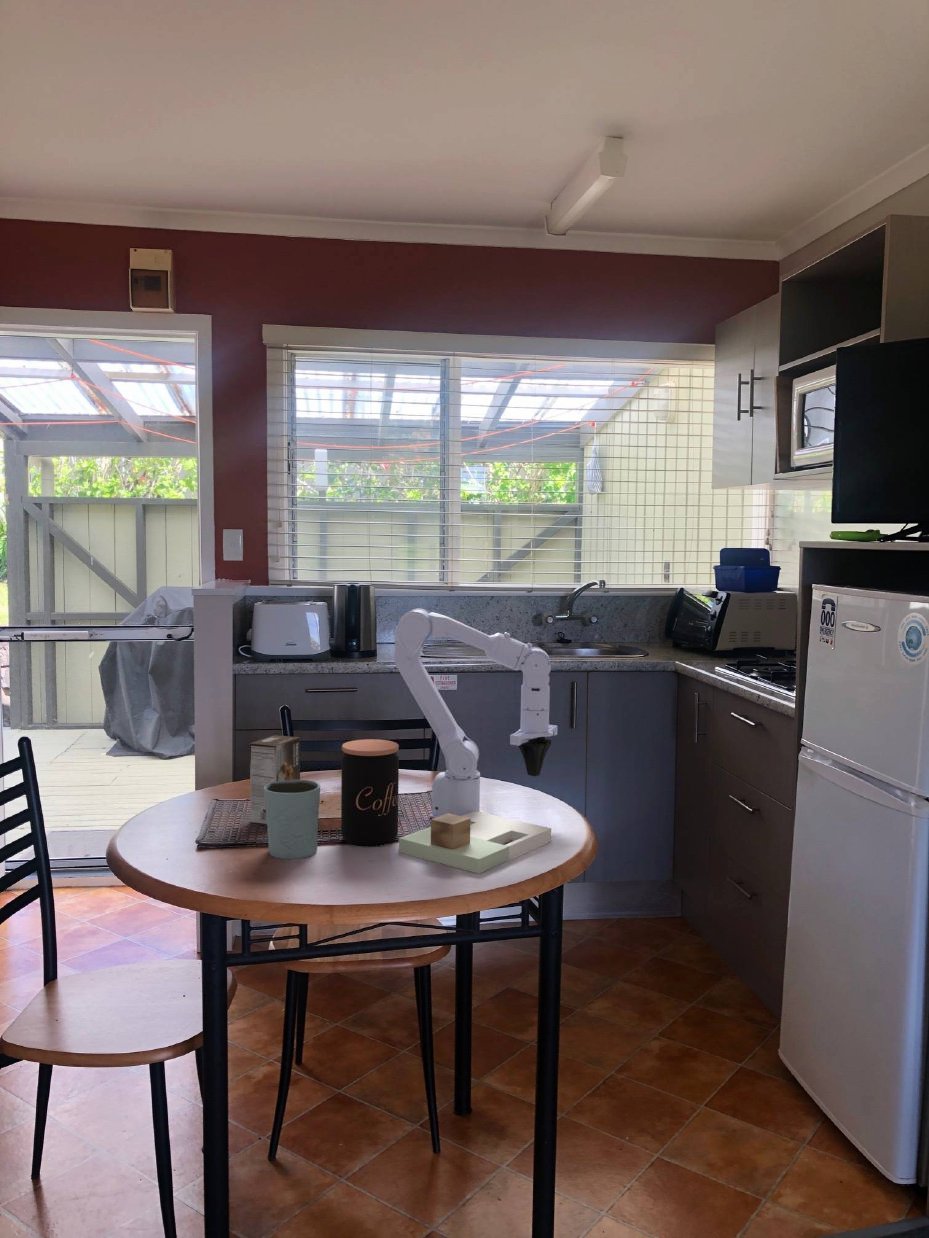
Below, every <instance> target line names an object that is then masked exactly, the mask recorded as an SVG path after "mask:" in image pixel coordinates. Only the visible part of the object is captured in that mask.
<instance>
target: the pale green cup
mask: <svg viewBox="0 0 929 1238" xmlns="http://www.w3.org/2000/svg"><path fill="white" fill-rule="evenodd" d="M263 789H264V799H265V805H266V820H267V824H266V826H267V840H268V843H267V844H268V851H269V852H268V853H269V854H270V856H271V857H273V858H276V859H277V858H278V859H285V860H286V859H287V860H298V859H304V858H308V857H311V856H313V855H315V854H316V852H317V851H318V845H319V844H318V839H319V837H318V831H319V830H318V829H319V815H320V814H319V813H320V801H321V784H320V783H318V782H317V781H314V780H307V779H300V780H283V781H277V782H273V783H269V784H267V785H265V786H264V788H263Z"/></svg>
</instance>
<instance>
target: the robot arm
mask: <svg viewBox="0 0 929 1238" xmlns="http://www.w3.org/2000/svg"><path fill="white" fill-rule="evenodd" d="M430 636H431V639H437V638H445V637H447V638H451V639H453V640H457V641H459V642H461V643H464V644H466V645H468V646H472V647H474V648H477V649H480V650H482V651H484V653H485V655H486V658H487V660H490V661H492V662H494V663H496V664H499V665H502V666H504V667H507V668H509V669H510V670H514V671H521V672H522V684H521V686H520V728H519V729H518V730H517V731H516V732H514V733H511V734H510V735H509V744H510V745H512V746H518V748H519V750H520V752H521V754H522V757H523V761H524V765H525V769H526V773H527V775H528V776H530V777H539V776H540V774H541V771H542V767H543V765H544V760H545V757H546V754H547V752H548V750H549V749H550V747H551V746H552V739H551V740H550V739H547V737H553V736H557V735H558V725H554V724H550V694H551V693H550V690H551V689H550V688H551V687H550V685H549V683H550V675H549V674H550V673H551V670H552V665H551V660H550V656H549V655H548V653H547V652H546V651H545V650H543V649H542V648H541V647H539V646H533V644H532V643H530V642H527V643H524V642H522V641H520V640H517V639H515V638H512V637H511V633H509V632H506V631H505V632H504V633H501V632H497V633H494V634H491V635H489V634H487V633H485V632H483V631H480V630H477V629H476V628H473V627H471V626H470V625H466V624H465V623H462V622H461V621H458V620H456V619H454V618H451V617H449V616H447V615H443V614H441V613H438V612H437V613H436V612H433V611H431V612H430V611H428V610H426V609H424V608H419V607H418V608H417V607H416V608H414V609H412V610H409V611H408V612H406V613H404V614H403V615H402V616H401V618H400V619H399V621H398V624H397V626H396V628H395V631H394V637H395V638H394V639H395V640H394V657H393V658H394V659H393V660H394V661H393V662H394V665H395V666H396V668H397V670H398V671H399V673H400V675H401V678H403V680H404V682H405V684H406V686H407V687H408V689H409V691H410V693H411V694H412V696H413V698H414V700H415V701H416V703H417V705H418V707H419V708H420V710H421V711H422V713H423V716H424V717H425V719H426V720H427V722H428V724H429V726H430V728H431V729H432V731H433V732H434V735H435V736H436V738H437V739H438V744H439V747H440V750H441V752H442V753H443V756H444V758H445V759H444V761H445V767H446V770H445V771H441V772H439V773H438V774H436V776H434V780H433V783H432V787H431V790H432V792H431V814H429V816H428V817H429V818H431V819H433V818H436V817H439V816H442V815H445V814H448V813H450V814H454V815H458V816H462V815H465V814H468V813H471V812H473V811H477V812H480V810H481V809H480V807H481V806H480V805H481V801H480V800H481V797H480V796H481V772H480V771H479V770H478V769H477V767H478V761H479V757H480V750H479V747H478V745H477V744H476V742H474V741H473V740H472V739H470V738H468V736H467V735H466V734H465V732H464V730H463V729H462V728H461V727H460V726H459V725H458V723H457V721H456V720H455V718H454V716H453V714H452V712H451V711H450V709H449V707H448V706H447V704H446V702H445V700H444V699H443V697H442V695H441V693H440V692H439V690H438V688H437V686H436V685H435V683H434V682H433V681H434V680H432V677H431V676H430V674H429V672H428V671H427V670H426V667H425V665H424V663H422V660H421V655H422V653H423V649H424V646H425V643H426V641H427V639H428V638H429V637H430Z"/></svg>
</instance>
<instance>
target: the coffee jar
mask: <svg viewBox="0 0 929 1238" xmlns="http://www.w3.org/2000/svg"><path fill="white" fill-rule="evenodd" d="M399 747H400V745H399V744H398V743H397V742H394V741H393V740H392V741H391V740H386V739H373V738H370V739H367V738H366V739H357V740H351V741H347V742H344V743H342V745H341V751H342V752H343V753H344V754H343V756H342V758H341V773H340V774H341V778H340V779H341V784H340V785H341V786H340V787H341V788H340V791H341V792H340V793H341V795H340V796H341V799H340V800H341V801H340V802H341V803H340V804H341V808H340V809H341V810H340V811H341V812H340V815H341V817H340V818H341V819H340V821H341V822H340V823H341V824H340V834H341V837H342V838H343V840H344V841H345V843H346V844H348V845H350V846H351V845H352V846H355V847H361V848H373V847H374V848H376V847H382V846H386V845H389V844H392V843H393V842H394V841H395V839H396V838H397V837H398V833H399V783H400V782H399V781H400V780H399V773H400V771H399V768H400V767H399V765H400V764H399V763H400V759H399V756H398V755H397V753H398V751H399Z"/></svg>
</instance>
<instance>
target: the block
mask: <svg viewBox="0 0 929 1238" xmlns="http://www.w3.org/2000/svg"><path fill="white" fill-rule="evenodd" d="M470 820H471V818H467V817H463V816H458V815H454V814H450V813H448V814H445V815H442V816H439V817H436V818H431V819H430V827H431V844H432V845H436V846H439V847H443V848H447V849H451V850H454V849H457V848H459V847H462V846H464V845H467V844H469V843H470Z"/></svg>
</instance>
